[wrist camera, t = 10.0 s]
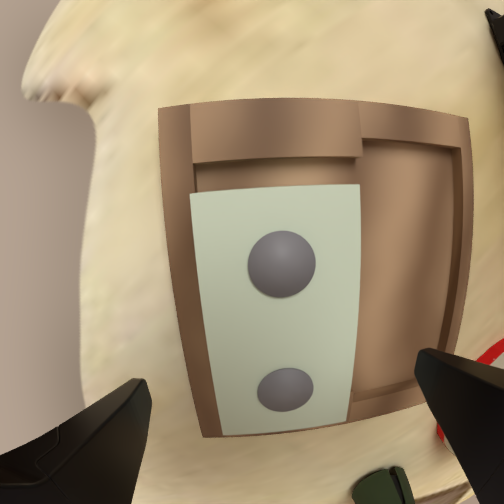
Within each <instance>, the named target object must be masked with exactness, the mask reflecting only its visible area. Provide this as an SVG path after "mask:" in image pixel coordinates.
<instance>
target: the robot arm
mask: <svg viewBox="0 0 504 504" xmlns="http://www.w3.org/2000/svg"><path fill="white" fill-rule="evenodd" d="M486 14H487V16H488V19H489V21H490V24H491V27H492V29H493V32H494V35H495V38H496V41H497V44H498V47H499V50H500V54H501V57H502V60H503V63H504V15H502V16H501V15H500V14H498V13H496V12H495V11H493V10H491V9H489V8H488V9H486ZM414 375H415V378H416V380H417V382H418V384H419V386H420V389H421V391H422V393H423V395H424V397H425V400H426V402H427V404H428V406H429V408H430V410H431V412H432V414H433V416H434V417H435V419H436V421H437V422H438V424H439V426H440V428H441V430H442V431H443V433H444V435H445V437H446V439H447V440H448V442H449V444H450V446H451V448H452V450H453V451H454V453H455V455H456V457H457V459H458V461H459V463H460V465H461V467H462V469H463V470H464V472H465V474H466V476H467V478H468V480H469V482H470V484H471V486H472V489H473V491H474V493H475V495H476V497H477V499H478V501H479V503H480V504H504V369H501V368H498V367H494V366H491V365H487V364H484V363H480V362H477V361H473V360H470V359H466V358H463V357H460V356H456V355H453V354H450V353H446V352H443V351H440V350H437V349H433V348H425V349H421V350H419V352H418V354H417V359H416V363H415V368H414ZM151 407H152V399H151V396H150V393H149V389H148V386H147V383H146V381H145V380H144V379H139V378H133V379H131V380H129V381H128V382H126V383H125V384H123V385H122V386H120V387H118V388H117V389H115V390H114V391H112V392H111V393H109V394H108V395H106V396H105V397H103V398H102V399H100V400H98V401H97V402H95V403H94V404H92V405H91V406H89V407H87V408H86V409H84V410H83V411H81V412H80V413H78V414H76V415H75V416H73V417H72V418H70V419H68V420H67V421H65V422H64V423H62V424H60V425H59V427H55V428H54V429H52V430H50V431H49V432H47V433H45V434H43V435H42V436H40V437H38V438H36V439H35V440H32V441H30V442H28V443H26V444H24V445H22V446H20V447H17V448H16V449H13V450H11V451H9V452H6V453H4V454H2V455H0V504H131V502H132V498H133V494H134V490H135V486H136V482H137V478H138V474H139V470H140V466H141V462H142V458H143V454H144V451H145V447H146V442H147V436H148V428H149V421H150V414H151Z"/></svg>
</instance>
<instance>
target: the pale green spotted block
mask: <svg viewBox="0 0 504 504" xmlns="http://www.w3.org/2000/svg"><path fill="white" fill-rule="evenodd" d="M190 204H191V216H192V226H193V236H194V246H195V256H196V264H197V273H198V282H199V290H200V297H201V305H202V313H203V320H204V327H205V334H206V341H207V347H208V354H209V360H210V366H211V372H212V378H213V384H214V390H215V395H216V401H217V406H218V412H219V417H220V422H221V427H222V432H223V435H243V434H258V433H269V432H279V431H288V430H296V429H304V428H310V427H317V426H323V425H329V424H334V423H339V422H344V421H346V417H347V411H348V405H349V398H350V391H351V384H352V376H353V367H354V358H355V349H356V338H357V326H358V312H359V294H360V268H361V208H360V184H327V185H297V186H276V187H259V188H244V189H231V190H219V191H207V192H199V193H192V194H190Z"/></svg>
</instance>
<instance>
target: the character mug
mask: <svg viewBox="0 0 504 504" xmlns="http://www.w3.org/2000/svg"><path fill="white" fill-rule="evenodd" d="M394 468H395V471H396V473H397V475H390V474H389V471H388V469H384V470H381V471H379V472H376V473H374V474H372V475H370V476H369V477H367V478H365V479H364V480H362V481H361V482H360V483H359V484H358V486H357V487H356V488H355V489H354V491H353V494H352V498H353V500H354V502H355V504H415V501H414V497H413V494H412V490H411V487H410V484H409V481H408V479H407V476H406V474H405V471H404V469H403V468H400V467H394Z"/></svg>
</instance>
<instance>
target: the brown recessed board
mask: <svg viewBox="0 0 504 504" xmlns="http://www.w3.org/2000/svg"><path fill="white" fill-rule="evenodd" d="M158 126H159V150H160V168H161V183H162V196H163V208H164V218H165V228H166V238H167V246H168V255H169V263H170V271H171V278H172V285H173V292H174V299H175V305H176V311H177V317H178V323H179V329H180V335H181V340H182V346H183V351H184V356H185V361H186V366H187V371H188V376H189V381H190V386H191V390H192V395H193V399H194V404H195V408H196V412H197V416H198V420H199V424H200V428H201V432H202V436H203V438H212V437H243V436H259V435H271V434H281V433H290V432H297V431H305V430H312V429H318V428H324V427H330V426H335V425H341V424H346V423H350V422H355V421H360V420H364V419H368V418H372V417H376V416H380V415H384V414H388V413H392V412H395V411H399V410H402V409H406V408H409V407H412V406H415V405H418V404H422V403H425V402H426V400H425V397H424V395H423V393H422V391H421V389H420V386H419V384H418V382H417V380H416V378H415V375H414V368H415V363H416V359H417V354H418V352H419V350H421V349H425V348H433V349H437V350H440V351H443V352H446V353H450V354H453V355H454V351H455V347H456V343H457V339H458V334H459V330H460V325H461V320H462V315H463V310H464V304H465V298H466V292H467V285H468V278H469V270H470V261H471V250H472V236H473V210H474V189H473V163H472V150H471V139H470V130H469V122H468V118H464V117H460V116H456V115H451V114H446V113H442V112H437V111H431V110H426V109H420V108H414V107H407V106H400V105H393V104H385V103H376V102H366V101H355V100H341V99H321V98H259V99H239V100H225V101H213V102H203V103H194V104H186V105H178V106H171V107H164V108H158ZM327 184H360V208H361V268H360V294H359V312H358V326H357V338H356V349H355V358H354V367H353V376H352V384H351V391H350V398H349V405H348V411H347V417H346V421H344V422H339V423H334V424H329V425H323V426H317V427H310V428H304V429H296V430H288V431H279V432H269V433H258V434H243V435H223V432H222V427H221V422H220V417H219V412H218V406H217V401H216V395H215V390H214V384H213V378H212V372H211V366H210V360H209V354H208V347H207V341H206V334H205V327H204V320H203V313H202V305H201V297H200V290H199V282H198V273H197V264H196V256H195V246H194V236H193V226H192V216H191V204H190V194H192V193H199V192H207V191H219V190H231V189H244V188H259V187H276V186H297V185H327Z"/></svg>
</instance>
